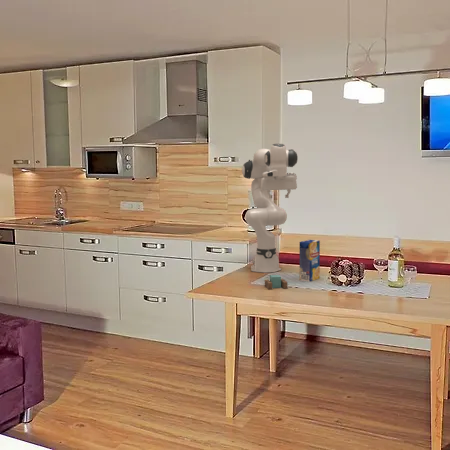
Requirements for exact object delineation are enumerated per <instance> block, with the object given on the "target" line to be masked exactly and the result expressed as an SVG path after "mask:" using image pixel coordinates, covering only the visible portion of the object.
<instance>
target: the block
mask: <svg viewBox="0 0 450 450" xmlns="http://www.w3.org/2000/svg"><path fill="white" fill-rule="evenodd" d="M281 279H282V276H281V275H280V274H272V275H271V274H270V275H269V281H270V282H272V289H279V288H280V289H281V288H282V287H281Z"/></svg>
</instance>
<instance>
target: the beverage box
mask: <svg viewBox="0 0 450 450" xmlns="http://www.w3.org/2000/svg"><path fill="white" fill-rule="evenodd" d="M320 243H321V240H315V239H307V240H303V241H299V281H302V282H303V281H304V282H312V281H316V280H319V279H320V278H321V277H320V276H321V275H320V274H321V273H320V271H321V269H320V265H321V263H320V261H321V260H320V258H321V257H320V256H321V253H320V251H321V250H320V249H321V248H320V245H321V244H320Z"/></svg>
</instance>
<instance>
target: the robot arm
mask: <svg viewBox="0 0 450 450" xmlns="http://www.w3.org/2000/svg"><path fill="white" fill-rule="evenodd" d="M297 163H298V153H297V151H295V150H294V149H287V147H286V145H285V144H284V143H273V144H272V145H271V147H270V149H269V148H259V149H257V150H256V151H255V153H253V159H252V160H251V159H248V161H246V162H245V163H243V164H242V166H241V167H242V168H241V173H242V176H243V178H245V179H249V180H250V179H252V181H251V186H250V187H251V188H250V190H251V191H250V192H251V196H252V201H253V204H254V206H255V207H256V208H250V209H248V210H247V211H246V212H245V216H244V217H245V222H246V223H247V225H249V226H250V227H251V228H252V230H253V231H254V232H255V235H256V243H257V247H256V252H255V253H256V255H255V256H254V258H253V259H251V264H253V265H251V266H250V271H251V272H256V273H265V274H266V273H275V272H278V271H282V268H281V267H280V261H279V256H278V255H277V248H276V235H275V234H274V233H273V232H271V231H269V230H268V229H267V226H268V227H269V226H271V227H272V226H273V227H274V226H280V225H284V224H285V223H286V221H287V219H288V218H287V217H288V214H287V212H286V210H285V209H284V208H282V207H280V206H278V205H277V204H276V203H275V202H274V201H273V195H272V194H271V191H284V190H285V191H287V193H286V194H285V195H284V197H285V199H289V197H290V194H291V192H292V190H296V189H297V188H298V183H297V179H298V178H297V174H296V173H294V172H288V169H287V168H293V167H295V166H296V164H297Z"/></svg>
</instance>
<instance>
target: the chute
mask: <svg viewBox="0 0 450 450" xmlns="http://www.w3.org/2000/svg"><path fill="white" fill-rule="evenodd" d="M264 287H265V288H266V289H267V290H269V291H270V290H271V291H272V290H273V288H272V282H270V279H264ZM281 288H282V289H284V290H287V289H288V281H286V280H285V279H284V278H281Z"/></svg>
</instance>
